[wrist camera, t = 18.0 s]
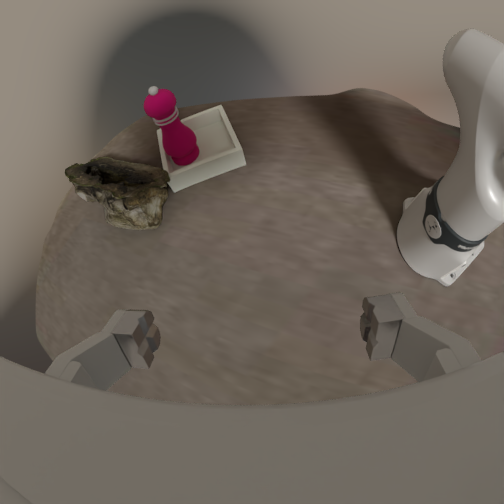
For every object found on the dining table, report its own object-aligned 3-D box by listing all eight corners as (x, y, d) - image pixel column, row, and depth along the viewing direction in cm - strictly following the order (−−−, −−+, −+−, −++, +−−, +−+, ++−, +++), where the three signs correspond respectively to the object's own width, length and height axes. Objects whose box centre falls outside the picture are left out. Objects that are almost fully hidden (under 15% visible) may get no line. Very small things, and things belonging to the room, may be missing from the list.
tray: (225, 119, 60) (221, 104, 55) (246, 164, 54) (242, 149, 49) (164, 143, 60) (156, 130, 55) (174, 192, 54) (165, 179, 50)
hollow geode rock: (102, 196, 63) (55, 210, 51) (105, 149, 57) (54, 158, 45) (175, 234, 55) (120, 260, 43) (184, 175, 49) (121, 189, 37)
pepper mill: (165, 159, 57) (126, 96, 38) (187, 139, 58) (156, 73, 39) (184, 173, 54) (146, 104, 36) (208, 150, 56) (179, 79, 37)
